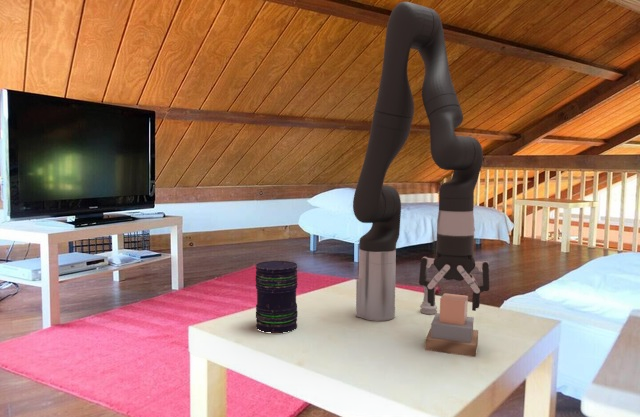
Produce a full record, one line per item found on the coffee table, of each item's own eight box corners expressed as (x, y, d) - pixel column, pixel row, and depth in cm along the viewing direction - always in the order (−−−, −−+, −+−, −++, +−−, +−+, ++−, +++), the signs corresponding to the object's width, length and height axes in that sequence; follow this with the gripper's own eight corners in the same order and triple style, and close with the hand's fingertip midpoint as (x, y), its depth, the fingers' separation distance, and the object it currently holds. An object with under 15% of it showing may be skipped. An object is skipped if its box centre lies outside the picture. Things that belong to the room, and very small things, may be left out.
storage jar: (283, 336, 108) (283, 270, 106) (247, 329, 112) (246, 266, 111) (305, 324, 116) (305, 263, 115) (270, 318, 121) (270, 259, 120)
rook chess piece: (437, 315, 124) (438, 284, 123) (419, 314, 125) (420, 283, 124) (436, 310, 128) (437, 280, 127) (419, 309, 129) (420, 280, 128)
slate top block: (430, 337, 101) (431, 323, 100) (435, 326, 108) (436, 313, 108) (470, 343, 98) (471, 328, 98) (473, 330, 105) (473, 317, 105)
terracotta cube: (439, 322, 102) (440, 298, 101) (443, 315, 106) (444, 293, 106) (464, 325, 100) (464, 301, 99) (467, 318, 104) (467, 295, 104)
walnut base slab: (425, 353, 100) (425, 339, 100) (431, 337, 109) (432, 324, 109) (475, 360, 97) (475, 345, 96) (477, 343, 106) (478, 330, 106)
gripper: (418, 232, 100) (416, 308, 101) (490, 236, 95) (488, 316, 96) (423, 228, 107) (422, 299, 108) (491, 231, 102) (489, 306, 103)
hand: (453, 307), depth 102 cm, fingers open, 8 cm apart
